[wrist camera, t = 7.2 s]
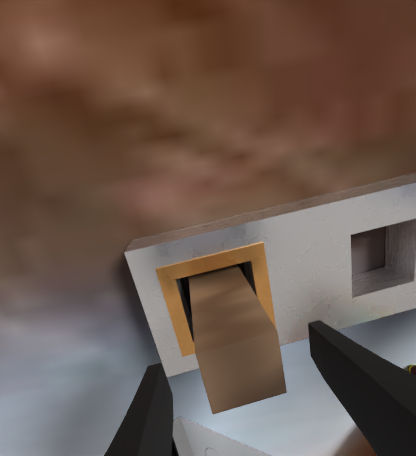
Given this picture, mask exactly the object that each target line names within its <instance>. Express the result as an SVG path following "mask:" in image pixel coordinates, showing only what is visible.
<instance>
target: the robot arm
mask: <svg viewBox="0 0 416 456" xmlns="http://www.w3.org/2000/svg"><path fill="white" fill-rule="evenodd" d="M308 331H309V342H310V352H311V357H312V359H313V361H314V363H315V364H316V366H317V368H318V370H319V371H320V373H321V375H322V376H323V378H324V380H325V381H326V383H327V384H328V385H329V387H330V388H331V390H332V391H333V392H334V394H335V395H336V397H337V398H338V399H339V401H340V402H341V404H342V405H343V406H344V408H345V409H346V411H347V412H348V413H349V415H350V416H351V418H352V419H353V420H354V422H355V423H356V425H357V426H358V427H359V429H360V430H361V432H362V433H363V435H364V436H365V438H366V439H367V441H368V442H369V444H370V445H371V447H372V448H373V450H374V451H375V453H376V455H377V456H416V375H414V374H412V373H410V372H408V371H406V370H404V369H402V368H400V367H398V366H396V365H394V364H392V363H390V362H389V361H387V360H385V359H383V358H381V357H379V356H378V355H376V354H374V353H372V352H371V351H369V350H367V349H366V348H364V347H362V346H361V345H359V344H357V343H356V342H354V341H352V340H351V339H349V338H348V337H346V336H344V335H343V334H341V333H340V332H338V331H336V330H335V329H333V328H332V327H330V326H329V325H327V324H325V323H324V322H322V321H321V320H317V321H314V322H310V323H308ZM172 437H173V396H172V392H171V389H170V386H169V383H168V380H167V377H166V375H165V372H164V369H163V366H162V363H159V364H155V365H151V366H148V368H147V370H146V372H145V374H144V377H143V379H142V381H141V383H140V386H139V388H138V390H137V392H136V395H135V397H134V399H133V401H132V403H131V405H130V407H129V409H128V411H127V414H126V416H125V418H124V420H123V422H122V424H121V426H120V427H119V429H118V431H117V433H116V435H115V437H114V439H113V441H112V442H111V444H110V446H109V448H108V450H107V452H106V453H105V455H104V456H171V453H172Z"/></svg>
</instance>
